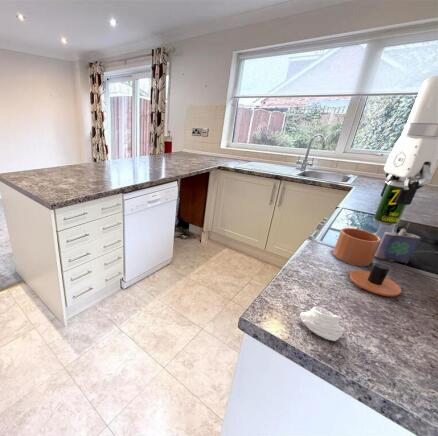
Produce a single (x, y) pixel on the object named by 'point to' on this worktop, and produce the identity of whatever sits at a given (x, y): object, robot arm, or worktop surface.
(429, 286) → the worktop surface
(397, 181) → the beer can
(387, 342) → the worktop surface
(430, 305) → the worktop surface
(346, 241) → the pot
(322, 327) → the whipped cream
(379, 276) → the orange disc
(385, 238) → the flask
